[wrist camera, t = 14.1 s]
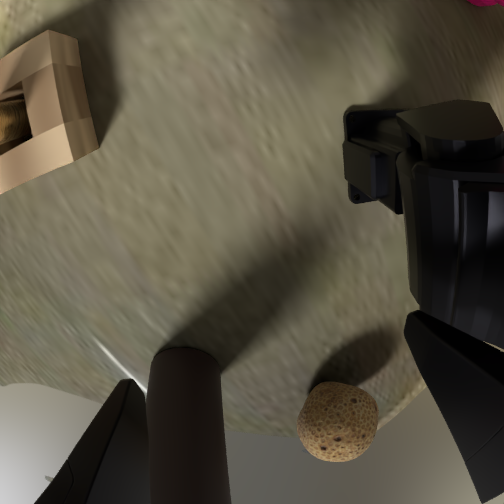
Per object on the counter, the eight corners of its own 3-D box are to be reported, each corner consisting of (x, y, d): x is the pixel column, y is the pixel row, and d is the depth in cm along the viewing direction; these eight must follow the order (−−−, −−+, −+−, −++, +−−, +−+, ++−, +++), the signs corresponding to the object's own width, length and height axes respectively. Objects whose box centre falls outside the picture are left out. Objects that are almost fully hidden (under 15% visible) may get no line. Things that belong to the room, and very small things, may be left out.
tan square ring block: (77, 38, 13) (48, 29, 9) (99, 148, 17) (73, 161, 13) (-8, 88, 12) (-42, 93, 9) (14, 183, 16) (-16, 202, 13)
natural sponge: (375, 358, 30) (410, 429, 22) (344, 402, 34) (368, 466, 26) (302, 361, 28) (328, 447, 20) (279, 407, 32) (295, 480, 24)
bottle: (205, 393, 29) (217, 572, 12) (144, 377, 27) (131, 566, 10) (231, 356, 27) (259, 573, 9) (161, 336, 25) (148, 573, 7)
